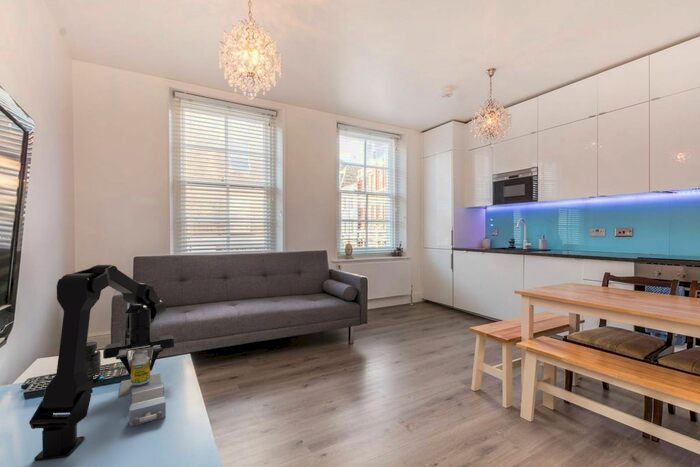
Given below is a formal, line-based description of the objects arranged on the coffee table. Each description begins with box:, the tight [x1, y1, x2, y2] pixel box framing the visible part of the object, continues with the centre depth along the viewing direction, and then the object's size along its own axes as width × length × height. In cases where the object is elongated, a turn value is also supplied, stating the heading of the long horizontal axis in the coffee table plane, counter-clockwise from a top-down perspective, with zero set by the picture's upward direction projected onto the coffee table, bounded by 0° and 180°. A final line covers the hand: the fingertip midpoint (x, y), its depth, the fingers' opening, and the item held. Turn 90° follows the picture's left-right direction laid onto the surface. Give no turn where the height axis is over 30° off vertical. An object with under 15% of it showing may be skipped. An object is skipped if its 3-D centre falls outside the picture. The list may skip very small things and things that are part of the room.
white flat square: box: [118, 373, 162, 398], centre depth 104 cm, size 11×11×1 cm
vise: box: [129, 381, 167, 427], centre depth 89 cm, size 16×8×4 cm, turn 32°
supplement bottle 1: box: [84, 341, 102, 376], centre depth 108 cm, size 7×7×12 cm
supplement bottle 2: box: [130, 349, 151, 385], centre depth 104 cm, size 5×5×10 cm
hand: (140, 372), depth 104 cm, fingers closed on supplement bottle 2, 5 cm apart
